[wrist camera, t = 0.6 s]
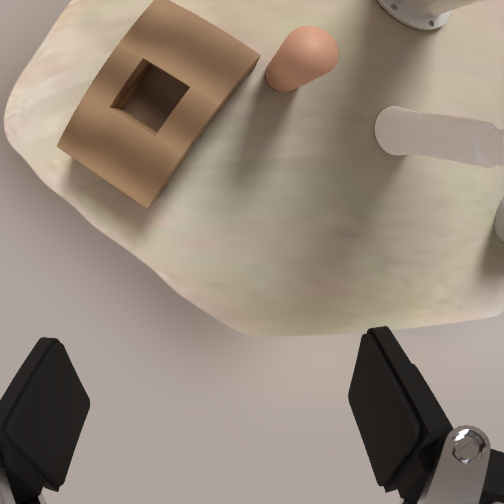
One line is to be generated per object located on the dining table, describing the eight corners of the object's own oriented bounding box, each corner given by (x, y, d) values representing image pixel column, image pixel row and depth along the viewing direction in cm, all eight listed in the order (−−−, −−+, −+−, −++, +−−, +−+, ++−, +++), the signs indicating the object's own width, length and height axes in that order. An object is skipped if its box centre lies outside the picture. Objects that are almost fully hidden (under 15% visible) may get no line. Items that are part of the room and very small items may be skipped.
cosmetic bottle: (418, 112, 32) (566, 128, 11) (413, 159, 34) (556, 210, 14) (376, 101, 31) (525, 98, 11) (371, 151, 33) (515, 196, 13)
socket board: (167, 11, 26) (158, -5, 21) (256, 65, 29) (260, 55, 24) (77, 142, 31) (56, 146, 26) (158, 197, 34) (147, 208, 29)
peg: (280, 51, 29) (306, 16, 18) (309, 73, 30) (348, 50, 19) (257, 77, 30) (272, 52, 19) (287, 99, 31) (317, 86, 20)
